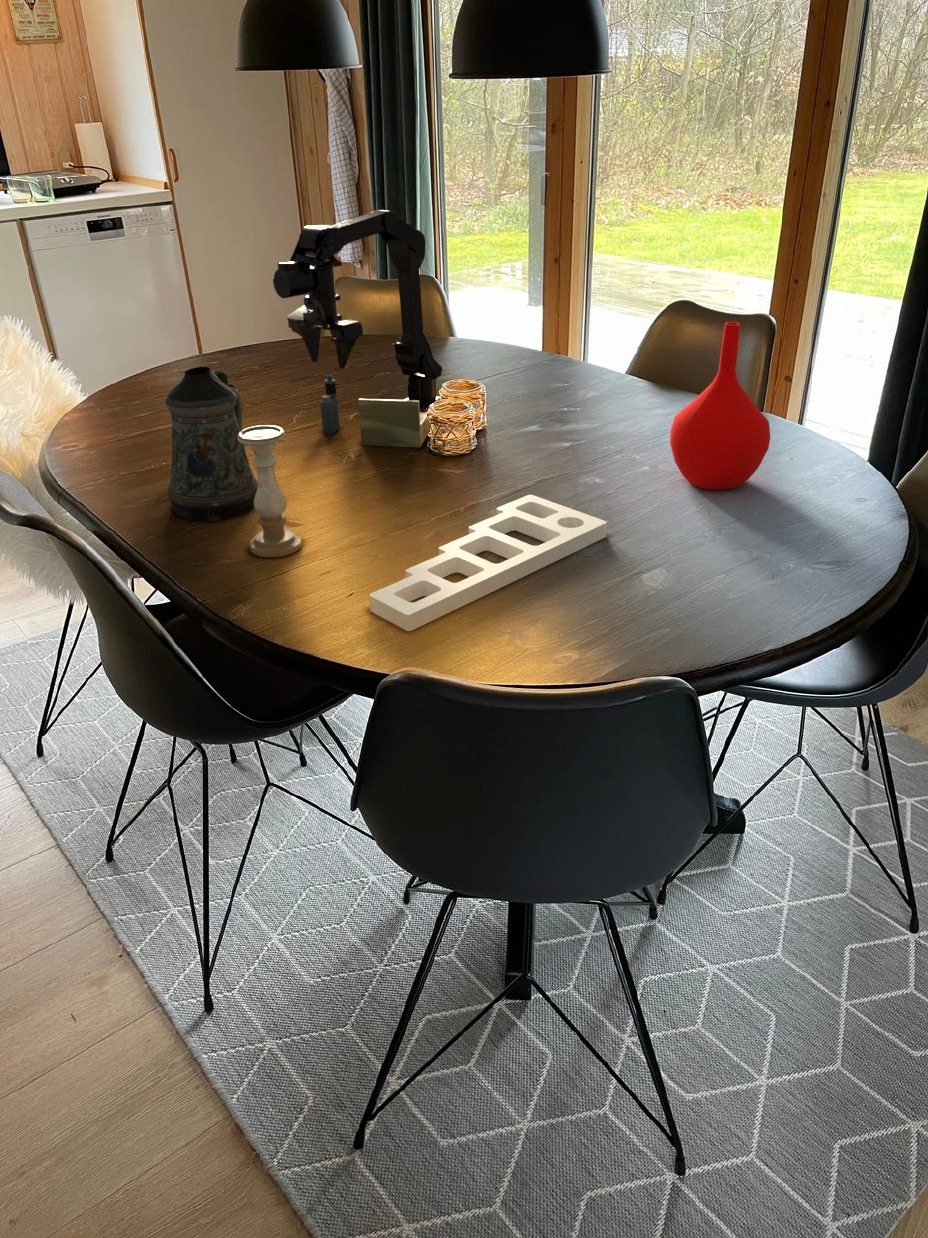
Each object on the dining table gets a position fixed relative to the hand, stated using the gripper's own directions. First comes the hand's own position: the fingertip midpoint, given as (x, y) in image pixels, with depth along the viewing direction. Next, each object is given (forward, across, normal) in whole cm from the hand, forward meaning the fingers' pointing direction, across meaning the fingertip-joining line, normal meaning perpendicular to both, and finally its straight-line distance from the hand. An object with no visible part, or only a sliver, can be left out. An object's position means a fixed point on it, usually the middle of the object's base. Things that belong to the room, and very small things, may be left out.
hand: (328, 364), depth 209 cm
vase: (+15, +81, +27) cm, 87 cm away
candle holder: (+15, +40, -47) cm, 63 cm away
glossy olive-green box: (+15, +15, +5) cm, 22 cm away
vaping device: (+15, 0, -1) cm, 15 cm away
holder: (+15, +70, -29) cm, 77 cm away
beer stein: (+15, +15, -42) cm, 47 cm away
